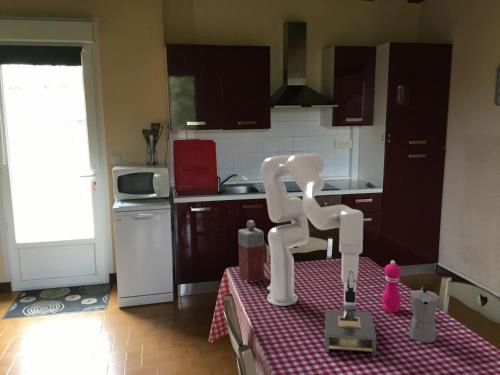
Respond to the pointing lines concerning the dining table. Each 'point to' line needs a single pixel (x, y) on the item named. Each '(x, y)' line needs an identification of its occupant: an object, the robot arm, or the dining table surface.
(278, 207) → the robot arm
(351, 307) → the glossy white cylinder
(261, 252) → the brown lidded canister
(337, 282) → the dining table surface
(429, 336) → the coffeepot
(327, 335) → the grey square socket block
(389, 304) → the pepper mill
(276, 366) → the dining table surface
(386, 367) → the dining table surface
